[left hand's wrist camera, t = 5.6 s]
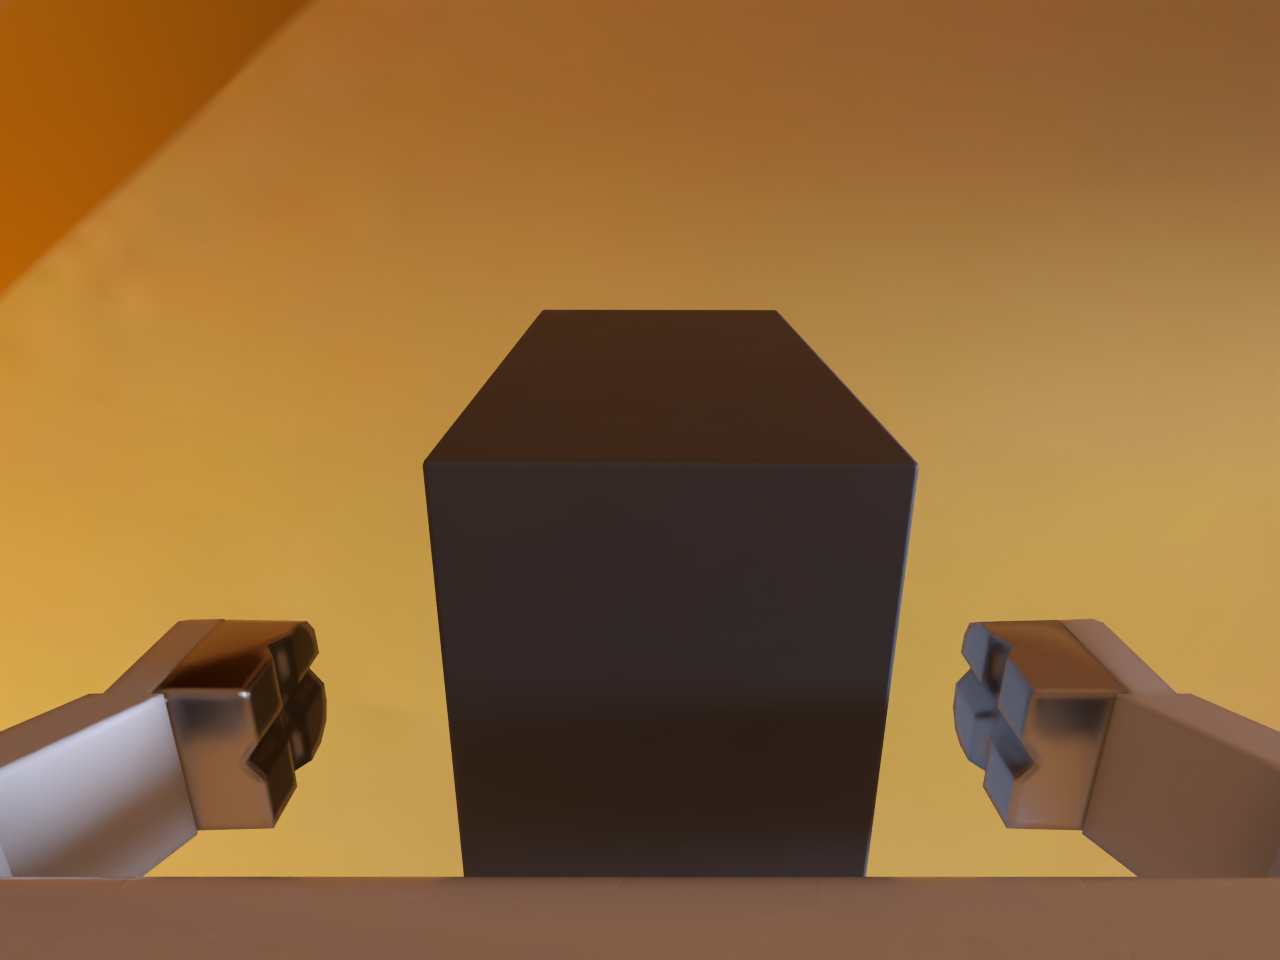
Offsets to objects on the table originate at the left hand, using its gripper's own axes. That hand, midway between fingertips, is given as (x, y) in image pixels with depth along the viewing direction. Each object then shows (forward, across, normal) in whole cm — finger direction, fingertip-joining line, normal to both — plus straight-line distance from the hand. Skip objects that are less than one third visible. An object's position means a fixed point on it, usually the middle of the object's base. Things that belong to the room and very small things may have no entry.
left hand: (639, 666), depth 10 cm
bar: (+7, 0, -10) cm, 12 cm away
